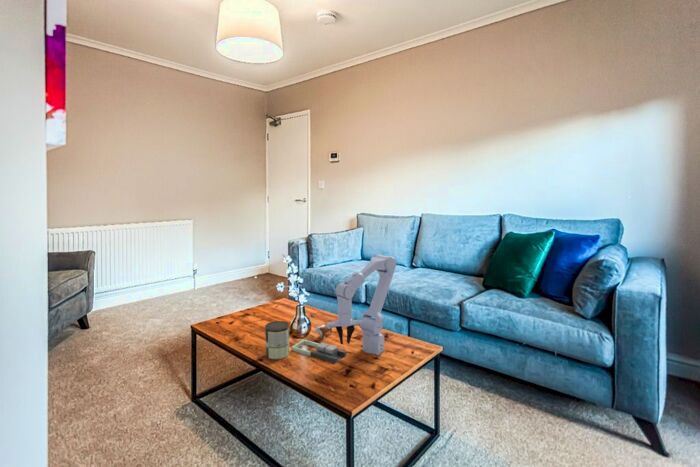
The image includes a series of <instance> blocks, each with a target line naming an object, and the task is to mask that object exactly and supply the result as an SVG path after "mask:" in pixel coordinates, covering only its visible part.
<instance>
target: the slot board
mask: <svg viewBox="0 0 700 467" xmlns="http://www.w3.org/2000/svg"><path fill="white" fill-rule="evenodd" d="M310 352H311V356H310V357H313V358H317V359H320V360H323V361H327V362H329V363H332V364H336V363H338V362H339V361H341V360H342V359H343V358H345V357H346V356H347V351H346V350H343V349H339V348H338V356H337V357H334V356H330V355H327V354H324V353H320V352H317V350H311V351H310Z"/></svg>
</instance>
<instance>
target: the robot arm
mask: <svg viewBox="0 0 700 467" xmlns="http://www.w3.org/2000/svg"><path fill="white" fill-rule="evenodd" d="M396 267H397V261H396V259H395V257H394V256H389V255H383V254H379V253H375V254H374V255H373V256H372V257H371V258H370V261H369V262H368V263H367V264H366V265H365V266H364V267H363V269H362V270H360V271H358V272H353V273H352V275H351V276H350V277H349V278H347V279H345V281H343V282H340V283H338V284H337V285H336V287H335V290H334V295H335V296H336V299H337V320H335V321H330V322H329V323H327V327H328V329H330V328H334V329H336V332H337V336H338V338H339V342H340V345H344V340H343V339H344V338H343V337H344V336H343V334H344V329H343V328H346V333H347V334H346V343H347V345H349V344H350V342H351V338H352V335H354V334H353V333H354V332H355V330H356V329H355V327H358V326H359V328H360V329H361V332H362V351H363V353H366V354H373V355H377V356H379V355H380V354H382V353H383V352H384V351H385V336H384V334H382V333H381V332H382V330H383V327H384V325H383V324H384V320H385V319H384V317H383V316H382V314H381V313H382V309H383V307H384V304H385V300H386V298H387V295H388V292H389V288H390V285H391V283H392V280H393V276H394V273H395V270H396ZM375 272H376V273H378V275H379V279H378V282H377V285H376V288H375V291H374V294H373V296H372V299H371V303H370V305H369V307H368V309H367V310H365V311H364V312H362V313H363V314H362V315H361V317H360V319H352V316H353V315H352V312H353V310H352V309H353V308H352V306H353V305H352V303H353V302H352V298H353V297H354V296H355V293H356V292H357V290H358V289H359V288H360V287H362V285H364V283H365V280H366V278H368V277H369V276H371V274H372V273H375Z"/></svg>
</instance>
